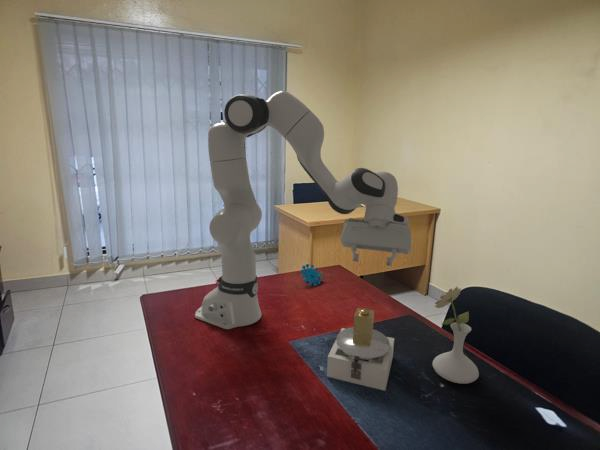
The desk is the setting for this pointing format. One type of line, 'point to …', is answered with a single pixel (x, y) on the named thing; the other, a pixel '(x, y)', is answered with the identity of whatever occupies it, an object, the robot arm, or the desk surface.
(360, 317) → the brass weight
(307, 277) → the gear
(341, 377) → the base
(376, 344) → the scale pan
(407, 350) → the desk surface
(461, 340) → the flower in vase
